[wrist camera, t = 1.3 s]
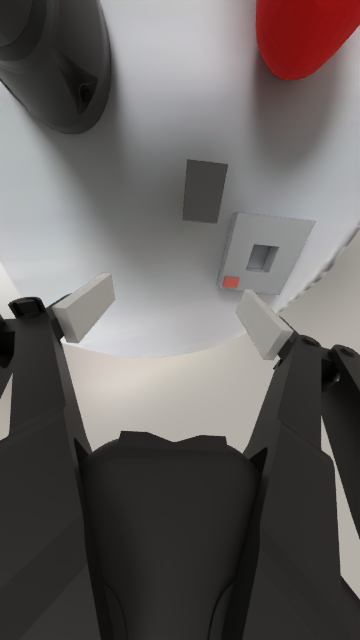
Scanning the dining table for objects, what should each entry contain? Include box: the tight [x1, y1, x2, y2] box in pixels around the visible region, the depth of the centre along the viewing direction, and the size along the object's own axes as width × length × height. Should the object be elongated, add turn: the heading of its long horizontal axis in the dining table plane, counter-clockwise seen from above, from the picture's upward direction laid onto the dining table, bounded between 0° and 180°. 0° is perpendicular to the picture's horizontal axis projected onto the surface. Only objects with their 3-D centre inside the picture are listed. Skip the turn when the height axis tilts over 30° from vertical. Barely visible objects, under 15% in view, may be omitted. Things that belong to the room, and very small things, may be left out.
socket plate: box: [217, 212, 316, 295], centre depth 30 cm, size 14×14×4 cm
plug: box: [183, 159, 228, 223], centre depth 23 cm, size 6×5×9 cm
